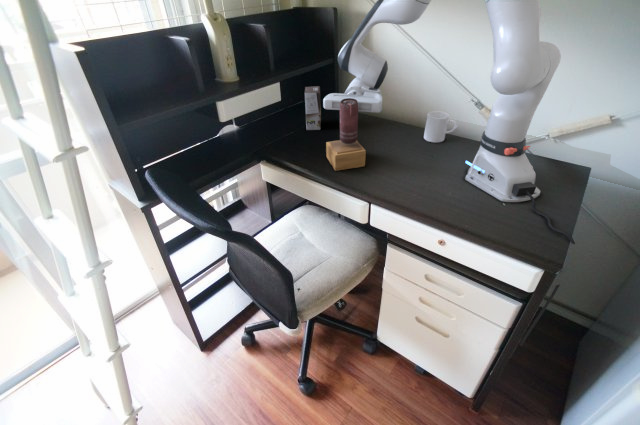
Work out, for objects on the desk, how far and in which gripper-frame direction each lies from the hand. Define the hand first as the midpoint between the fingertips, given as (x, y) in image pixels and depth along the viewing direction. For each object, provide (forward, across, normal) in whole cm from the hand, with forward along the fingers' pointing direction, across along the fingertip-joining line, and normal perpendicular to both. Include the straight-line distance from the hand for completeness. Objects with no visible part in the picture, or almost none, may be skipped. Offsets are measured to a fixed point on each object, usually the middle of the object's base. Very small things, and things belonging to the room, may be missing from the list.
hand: (348, 111), depth 106 cm
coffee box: (-30, -21, +19) cm, 42 cm away
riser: (-1, -1, +19) cm, 19 cm away
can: (-2, 0, +11) cm, 11 cm away
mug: (-26, +32, +19) cm, 46 cm away
